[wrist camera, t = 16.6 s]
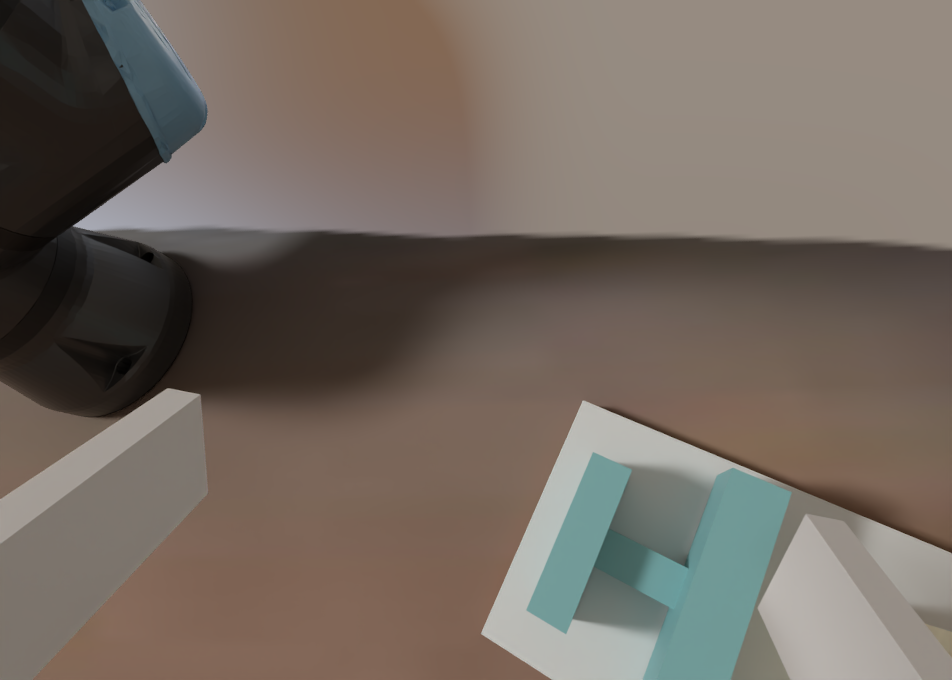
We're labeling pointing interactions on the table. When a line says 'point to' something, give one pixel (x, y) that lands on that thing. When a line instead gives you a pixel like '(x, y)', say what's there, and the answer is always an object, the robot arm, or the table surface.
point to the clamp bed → (670, 557)
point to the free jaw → (671, 568)
